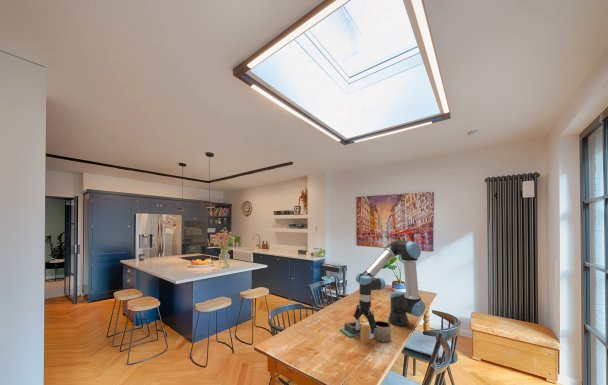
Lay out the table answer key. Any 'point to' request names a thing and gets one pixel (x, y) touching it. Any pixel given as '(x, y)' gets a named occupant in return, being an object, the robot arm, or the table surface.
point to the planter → (382, 331)
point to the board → (351, 329)
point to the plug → (364, 334)
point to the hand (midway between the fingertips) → (364, 333)
